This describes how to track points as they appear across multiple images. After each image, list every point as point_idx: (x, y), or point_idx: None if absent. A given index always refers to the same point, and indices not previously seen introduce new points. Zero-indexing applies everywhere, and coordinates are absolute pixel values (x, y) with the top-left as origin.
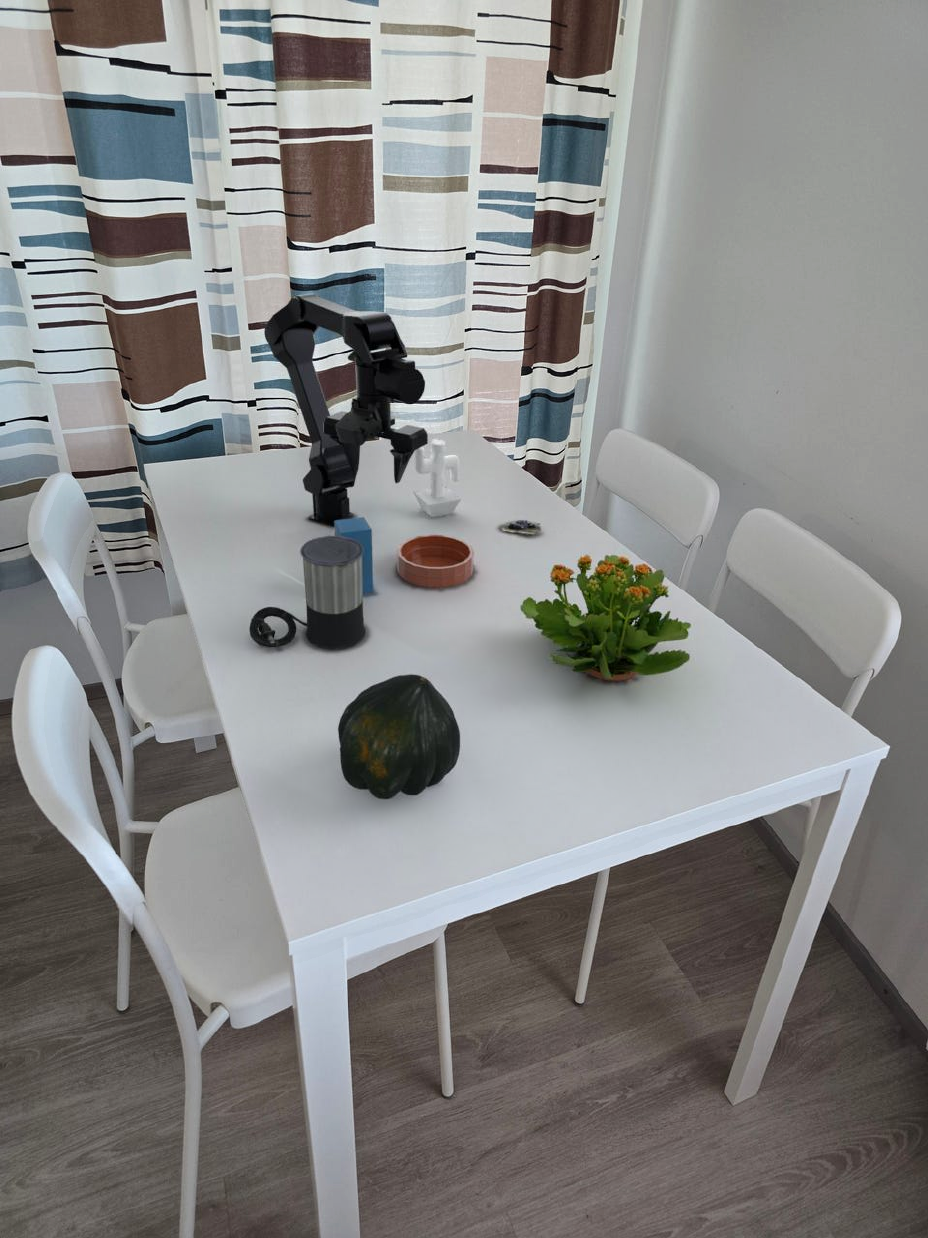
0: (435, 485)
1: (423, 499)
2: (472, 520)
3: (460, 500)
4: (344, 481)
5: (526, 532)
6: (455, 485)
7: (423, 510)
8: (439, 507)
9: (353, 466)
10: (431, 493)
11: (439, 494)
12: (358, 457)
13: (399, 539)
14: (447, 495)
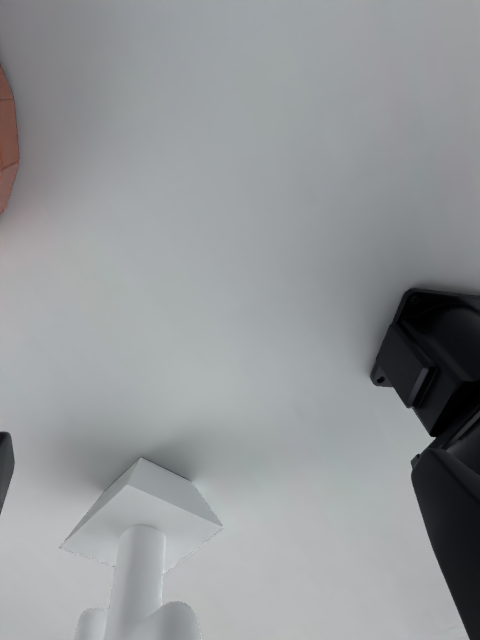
0: (131, 569)
1: (165, 504)
2: (27, 489)
3: (63, 542)
4: (459, 441)
5: None
6: (184, 594)
7: (186, 480)
8: (111, 493)
9: (464, 489)
10: (155, 537)
11: (124, 541)
12: (463, 599)
13: (152, 301)
14: (112, 548)
